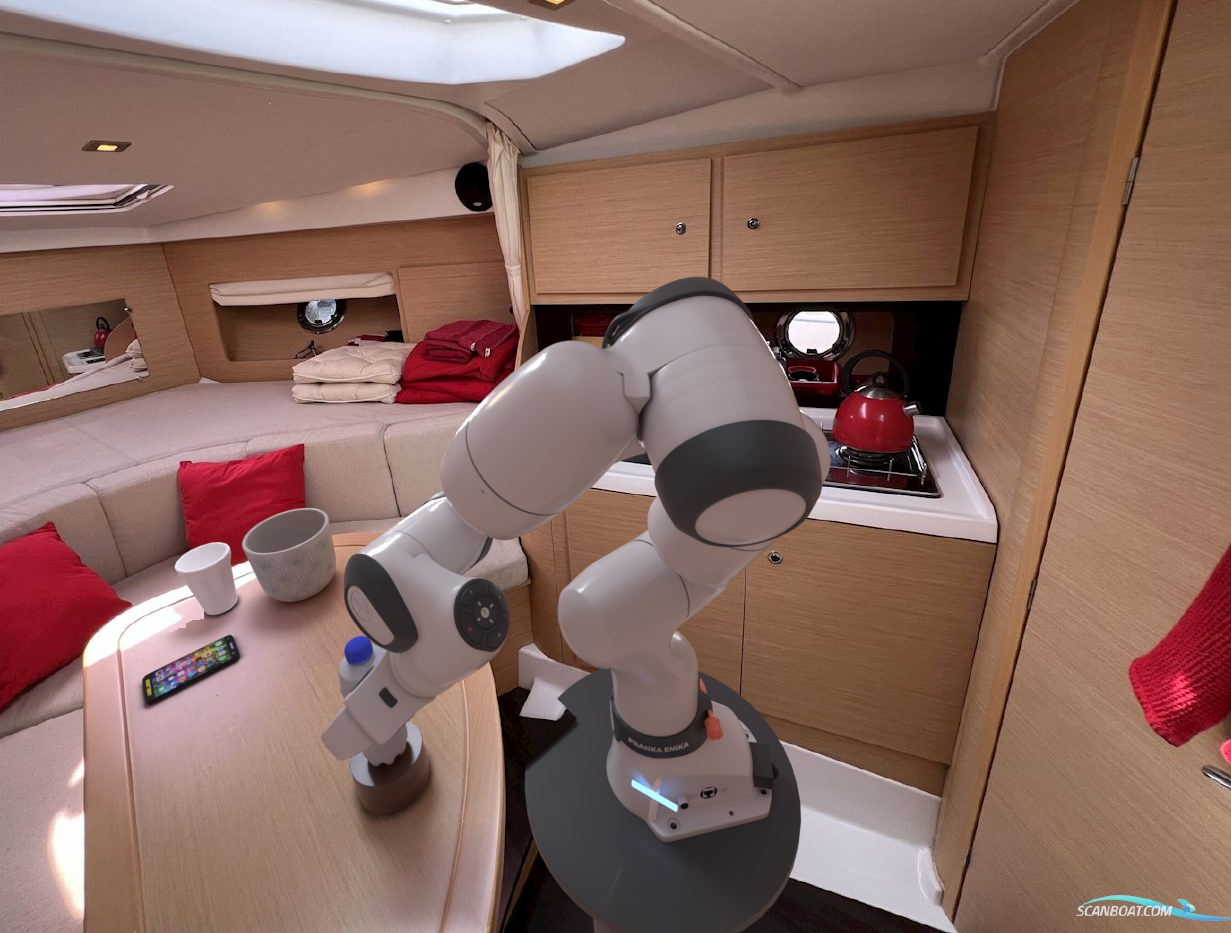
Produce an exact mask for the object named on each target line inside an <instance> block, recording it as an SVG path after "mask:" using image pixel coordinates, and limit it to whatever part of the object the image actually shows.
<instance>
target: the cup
mask: <svg viewBox="0 0 1231 933" xmlns="http://www.w3.org/2000/svg"><path fill="white" fill-rule="evenodd" d="M231 560H232V551H231V548H230V545H228V544H227V543H225V542H220V541H217V542H209V543H206V544H205V543H204V544H203V545H200V546H197V547H194V548H193V549H190V550H188V551H187V552H186V553H184V554H183V555H182V556H180V558H178V559H177V561H176V562H175V565H174V570H175V571H176V573H177V574H178V576H179V577H180V579H181V580H182V581H183V582H184V583H185V585H186V587H188V589H189V590H190V593H192V595H193V596H194V598H195V599H196V600H197V602H198V603H199V605H200V607H201V608H202V609H203V610H204V612H205V613H206V615H209V616H217V615H220V614H223V613H225V612H227V611H229V610H231V609H232V608H234V607H235V605H236V604H237V603H238V600H239V597H238V593H237V589H236V584H235V579H234V573H233V568H232V563H231Z"/></svg>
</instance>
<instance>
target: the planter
mask: <svg viewBox="0 0 1231 933" xmlns="http://www.w3.org/2000/svg"><path fill="white" fill-rule="evenodd" d="M330 524H331V523H330V518H329V515H328V514H327V513H326V512H325V511H323V510H322V509H319V508H313V507H304V508H302V507H301V508H294V509H290V510H289V509H288V510H286V511H282V512H279V513H276V514H275V515H272V516H270V517H268V518H266V519H264V520H262V521H260V522H258V523H257V524H256V525H255V526H253V527H251V529H250V530H248V531H247V533H246V534H245V535H244V537H243V539H242V543H241V547H242V550H243V552H244V554H245V556H246V558H247V560H248V562H249V565H250V566H251V569H252V570H253V574H254V576H255V577H256V579H257V581H258V583H259V585H260V587H261V589H262V590H263V591H264V592H265V593H266V594H267V596H269V597H271V598H272V599H273V600H277V601H280V602H284V603H293V602H300V601H303V600H306V599H309V598H311V597H313V596H315V595H317V594H319V593H320V592H321V591H322V590H324V589H325V588H326V587H327V586H328V584H329V583H330V582H331V580H332V578H333V577H334V574H335V573H336V572H335V571H336V569H337V568H336V567H337V554H336V549H335V545H334V540H333V534H332V529H331V525H330Z"/></svg>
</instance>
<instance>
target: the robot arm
mask: <svg viewBox="0 0 1231 933" xmlns="http://www.w3.org/2000/svg"><path fill="white" fill-rule="evenodd" d="M616 326H617V327H616ZM615 327H616V328H615ZM614 329H615V330H614ZM613 330H614V332H612V331H613ZM608 346H609V347H608ZM830 448H831V447H830V445H829V443H828V440H827V438H826V435H825V433H824V431H823V430H822V429H821V428H820V426H819V425H818V424H817V423H816V422H815V421H814V419H813V418H811V416H809V415H808V414H807V413H805V412H804V411H802V410H801V409H800V406H799V404H798V401H797V398H796V395H795V393H794V391H793V389H792V386H791V383H790V381H789V379H788V376H787V374H786V371H785V370H784V368H783V366H782V364H781V362H780V361H778V360H777V358H776V356H775V355H774V352H773V351H772V349H771V347H770V346H769V345H768V343H767V341H766V340H765V338H764V336H763V335H762V333H761V331H760V330H759V329H758V328H757V326H756V325H755V320H754V316H753V314H752V312H751V310H750V309H749V307H748V306H747V305H746V304H745V302H744V301H743V300H742V299H741V298H740V297H739V296H738V295H737V294H736V293H735V292H734V291H733V290H732V289H731V288H729V287H728V286H727V285H726V284H723V283H722V282H720V281H719V280H717V279H714V278H710V277H705V276H689V277H684V278H683V277H682V278H679V279H675V280H672V281H669V282H667V283H665V284H663V285H661V286H659V287H657V288H655V289H652V290H651V291H649V292H648V293H646V294H645V295H643V296H642V297H641V298H640V299H638V300H637V301H636V302H635V303H634V304H633V305H632V306H631V307H630V308H629V310H627V311H625V312H622V313H620V314H618V315H616V316H615V317H614V319H613V320H612V321H611V322H610V324H609V326H608V327H607V329H606V331H605V334H604V336H603V340H602V343H601V347H600V346H597V345H595V344H592V343H589V342H585V341H580V340H565V341H559V342H556V343H553V344H550V345H549V346H547V347H545V348H544V349H542V350H540V352H537V353H536V354H535V355H533V356H531V358H529V359H528V360H526V361H525V362H524V363H523V364H521V365H520V366H519V367H517V368H516V369H515V370H514V371H512V372H511V373H510V374H509V375H508V376H507V377H505V378H504V379H503V380H502V381H500V383H498V384H497V386H495V387H494V388H493V389H492V390H491V391H490V393H488V394H487V395H486V396H485V398H483V400H482V401H481V402H480V403H479V404H478V405H477V406H476V407H475V408H474V410H473V411H472V412H471V413H470V415H468V417H467V418H466V419H465V420H464V421H463V423H462V424H461V426H460V427H459V428H458V429H457V431H456V433H455V434H454V435H453V437H452V439H451V441H450V442H449V444H448V446H447V448H446V450H445V452H444V455H443V457H442V459H441V461H440V466H439V478H440V483H441V487H442V491H439V492H437V493H435V494H434V495H432V496H431V497H430V498H429V499H428V500H426V501H425V502H424V503H422V504H421V505H420V506H419V507H418V508H416V510H414V511H413V512H412V513H410V514H408V515H407V516H406V517H405V518H403V519H401V520H400V521H399V522H397V523H396V524H394V525H393V526H392V527H390V528H389V529H387V530H386V531H385V532H383V533H382V534H381V535H379V536H377V537H376V538H375V539H373V540H372V541H371V542H368V544H366V545H365V546H363V548H361V549H359V550H358V551H357V552H356V553H355V554H353V555H351V556H350V557H349V559H348V560H347V562H346V565H345V569H344V573H343V583H342V584H343V585H342V586H343V599H344V606H345V609H346V611H347V613H348V615H349V617H350V618H351V620H352V621H353V623H354V624H355V625H356V626H357V628H358V629H359V631H360V632H362V634H363V635H364V636H365V637H367V638H369V639H370V641H371V643H373V644H374V645H377V646H379V647H381V648H382V650H381V651H380V652H379V654H378V655H377V657H376V659H375V661H374V662H373V664H372V666H371V667H370V669H369V670H368V671H367V672H366V673H365V675H364V676H363V677H362V679H361V680H360V681H359V682H358V683H357V684H356V685H355V687H354V688H353V689H352V690H351V692H350V693H349V694H348V695H347V696H346V697H345V699H344V698H343V706H342V707H341V709H340V710H339V711H338V713H337V714H336V715H335V716H334V717H333V719H332V720H331V721H330V722H329V724H328V725H327V726H326V727H325V728H324V730H323V731H322V733H321V735H320V740H321V742H322V743H323V745H324V747H325V748H326V749H327V750H328V751H329V752H330V753H331V755H332V756H333V757H335V758H336V759H337V760H338V761H346V760H348V759H350V758H351V757H353V756H355V755H357V754H359V753H361V752H363V751H364V750H366V749H367V748H369V747H370V746H371V745H373V744H374V743H375V742H377V743H378V744H380V745H382V744H384V743H386V742H387V741H389V740H390V739H391V738H392V737H393V736H394V735H395V734H396V733H397V732H398V731H399V730H400V729H401V728H402V727H403V726H404V725H405V724H406V723H407V722H408V721H409V720H410V721H411V719H412V718H413V717H414V716H415V715H416V714H417V713H418V712H419V711H421V710H422V709H423V708H424V707H426V706H427V705H430V704H431V703H433V702H434V701H435V700H436V699H437V698H438V697H440V696H441V695H442V694H443V693H445V692H447V691H448V690H450V689H451V688H453V687H454V686H455V685H456V684H457V683H460V682H462V681H464V680H466V679H468V678H469V677H471V676H473V675H474V674H475V673H477V672H478V671H480V670H481V669H482V668H484V667H485V666H486V665H487V664H489V662H491V661H492V660H493V659H494V658H495V657H496V655H498V653H499V652H500V650H501V649H502V647H503V646H504V643H505V642H506V640H507V638H508V634H509V630H510V622H511V613H510V606H509V603H508V600H507V597H506V595H505V594H504V592H503V590H502V589H501V587H499V586H498V585H497V584H496V583H495V582H493V581H492V580H490V579H488V578H484V577H476V576H466V575H465V574H466V573H467V572H468V571H470V570H471V569H472V568H474V567H475V566H477V565H478V564H479V563H480V562H481V561H483V559H485V557H487V555H488V554H489V552H490V550H491V548H492V545H493V541H494V540H499V541H511V540H514V539H517V538H520V537H523V536H524V535H528V534H529V533H531V532H533V531H535V530H537V529H539V528H541V527H543V526H545V525H546V524H547V523H549V522H552V520H554V519H555V518H556V517H558V516H559V515H561V514H562V513H563V512H565V511H566V510H567V509H568V508H570V507H571V506H572V505H574V504H575V503H576V502H577V501H578V500H579V499H581V498H582V497H583V496H584V495H585V494H586V493H587V492H588V491H589V490H590V489H592V488H593V486H594V485H595V484H596V483H597V482H598V481H599V480H600V479H602V478H603V476H604V475H605V474H606V473H607V472H608V471H609V470H610V469H611V468H612V466H613V465H615V464H617V463H619V462H621V461H624V460H627V459H630V458H632V457H636V456H639V455H645V454H647V456H648V459H649V461H650V464H651V468H652V470H653V472H654V488H655V491H656V494H657V496H656V497H655V498H654V500H653V501H652V502H651V504H650V506H649V509H648V512H647V517H646V518H647V519H646V522H647V530H645V531H644V532H642V533H641V534H639V535H638V536H636V537H634V538H633V539H631V540H630V541H628V542H627V543H625V544H623V545H622V546H619V547H618V548H616V549H615V550H613V551H612V552H610V553H608V554H606V555H605V556H603V557H601V558H599V559H598V560H596V561H594V562H593V563H591V564H589V565H588V566H586V567H585V568H584V569H583V570H582V571H580V573H579V574H578V575H576V577H574V579H573V580H571V581H570V583H569V584H567V585H566V586H565V587H564V588H563V589H562V590H561V592H560V594H559V597H558V602H557V621H558V625H559V630H560V633H561V635H562V637H563V639H564V641H565V643H566V644H567V646H568V648H569V649H570V650H571V651H572V652H573V653H574V654H575V655H576V656H577V657H578V658H579V659H580V660H582V661H583V662H585V663H586V664H588V665H590V666H593V667H594V668H598V669H609V668H611V672H612V680H613V689H612V693H611V701H610V712H611V724H612V730H613V733H614V735H613V741H612V745H611V747H610V750H609V753H608V757H607V765H606V767H607V776H608V780H609V784H610V786H611V788H612V791H613V792H614V794H615V796H616V797H617V799H618V800H619V801H620V802H621V803H622V805H623V806H624V807H625V808H627V809H628V810H629V811H630V812H632V813H633V814H635V815H636V816H638V817H639V818H641V819H642V820H644V821H645V822H646V823H647V825H648V826H649V827H650V829H651V830H652V831H653V833H654V834H655V835H656V836H657V837H658V838H659V839H660V840H661V841H663V842H672V841H676V840H680V839H684V838H688V837H692V836H696V835H700V834H704V833H708V832H713V831H717V830H721V829H725V828H729V827H733V826H737V825H741V824H745V823H749V822H753V821H757V820H761V819H764V818H767V817H768V815H769V812H770V809H771V802H772V792H771V789H773V780H775V779H776V778H777V777H778V775H779V770H778V768H777V767H776V766H775V765H774V764H773V763H772V762H771V758H770V752H769V746H768V744H764V743H757V741H756V739H755V738H754V736H753V735H752V733H751V732H750V731H749V729H748V728H747V727H746V726H745V725H744V724H743V723H742V722H741V721H740V720H738V718H737V716H736V715H735V714H734V712H733V711H732V710H731V709H729V708H728V707H727V706H725V705H722V704H719V703H717V702H714V701H712V700H711V699H710V696H709V695H707V692H706V688H705V685H704V683H703V681H702V679H701V678H700V688H701V689H699V688H698V671H699V659H698V656H697V654H696V652H695V649H694V648H693V646H692V645H691V643H690V642H689V640H688V639H687V638H686V637H685V636H684V635H683V634H682V633H681V632H679V630H678V629H679V628H680V626H682V625H683V624H684V623H685V622H687V621H689V620H690V619H691V618H693V616H695V615H696V614H698V613H700V611H701V610H703V609H704V608H706V607H707V606H709V605H710V604H711V603H713V601H715V600H716V599H717V598H718V597H720V596H721V595H722V594H723V593H724V592H725V591H726V590H727V589H728V588H729V586H730V585H731V584H732V582H733V581H734V580H735V579H736V577H737V576H739V574H741V573H743V571H745V569H746V568H748V567H749V566H750V565H751V564H752V563H753V562H755V560H757V559H758V558H759V557H760V556H761V555H762V554H763V553H765V552H766V551H767V550H768V549H769V548H770V547H771V546H773V545H774V544H775V543H776V542H777V541H778V540H779V539H780V538H782V536H784V535H786V534H789V533H791V532H792V531H794V530H795V529H796V528H798V527H799V526H801V525H802V524H803V523H804V522H805V521H806V520H807V518H809V516H810V515H811V513H812V511H813V509H814V508H815V507H816V504H817V502H818V500H819V498H820V496H821V494H822V491H823V484H824V483H825V481H826V479H827V477H828V475H829V472H830V469H831V459H832V456H831V449H830ZM747 737H748V738H747ZM761 792H765V793H766V795H763V794H761ZM731 815H732V816H731ZM671 826H675V827H676V828H677V829H675V830H673V829H672V828H671Z"/></svg>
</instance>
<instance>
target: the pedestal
mask: <svg viewBox="0 0 1231 933" xmlns="http://www.w3.org/2000/svg"><path fill="white" fill-rule="evenodd" d="M406 727H407V731H408V737H407V741H406V748H405V751H404V753H403V754H402V755H399V754H398V755H397V756H396V757H395V759H394V762H393V763H392V764H390V765H388V764H386V763H381V764H380V765H379V766H374V765H372V764H371V763H370V762H369V760H368V759H367V758H366V757H365V756H364V755H363V753H362V752H361V753H359V754H357V755H355V756H353V757H351V758H349V770H350V774H351V777H352V780H353V782H354V786H355V788H356V792H357V795H358V798H359V801H360V802H361V805H362V806H363V807H364V809H365V810H366V811H367V812H369V813H371V814H373V815H377V816H388V815H393V814H396V813H399V812H401V811H403V810H405V809H406V808H408V807H409V806H410V805H412V804H413V803H414V802H415V801H416V800H417V799H418V798H419V796H420V795H421V794H422V793H423V791H424V789H425V788H426V785H427V783H428V781H429V775H430V762H429V759H428V755H427V750H426V748H425V743H424V742H425V741H424V739H423V738H424V737H423V735H422V732H421V730H420V728H419V726H418V725H417V724H416V723H415V722H414V721H412V720H411V719H410V720H409V721H408V722H407V723H406Z"/></svg>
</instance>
